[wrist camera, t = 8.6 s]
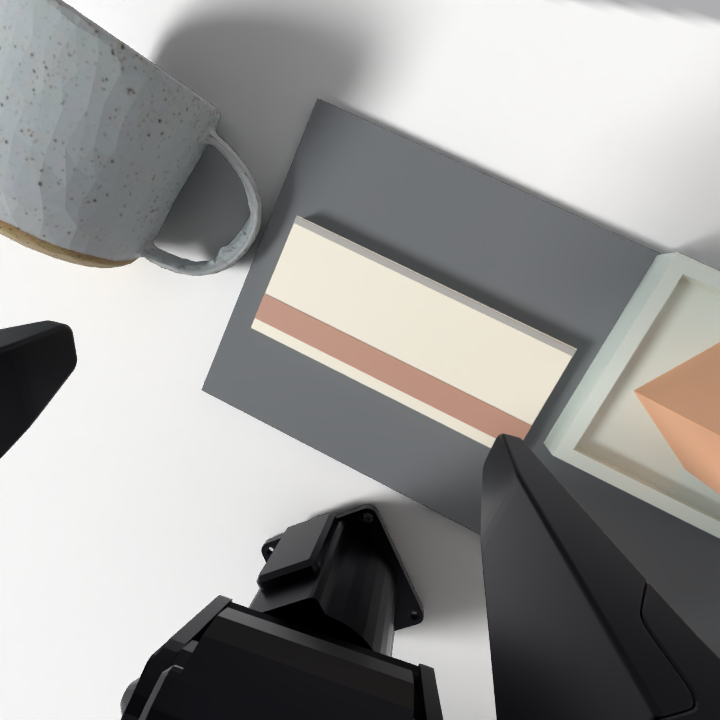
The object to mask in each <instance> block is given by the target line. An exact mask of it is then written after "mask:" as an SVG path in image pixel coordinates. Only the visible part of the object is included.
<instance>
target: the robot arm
mask: <svg viewBox="0 0 720 720" xmlns="http://www.w3.org/2000/svg"><path fill="white" fill-rule="evenodd" d="M76 363H77V355H76V349H75V343H74V337H73V332H72V329H71V328H70V327H69V326H68V325H66V324H62V323H58V322H54V321H41V322H36V323H31V324H25V325H20V326H15V327H10V328H5V329H0V459H1V457H2V456H3V455H4V454H5V453H6V452H7V451H8V450H9V449H10V448H11V447H12V446H13V445H14V444H15V443H16V442H17V441H18V439H19V438H20V437H21V436H22V435H23V434H24V433H25V432H26V431H27V430H28V429H29V427H30V426H31V425H32V424H33V423H34V421H35V420H36V419H37V418H38V416H39V415H40V414H41V412H42V411H43V410H44V409H45V407H46V406H47V405H48V403H49V402H50V401H51V399H52V398H53V397H54V395H55V394H56V393H57V392H58V390H59V389H60V388H61V386H62V385H63V384H64V382H65V381H66V380H67V378H68V377H69V376H70V375H71V373H72V372H73V370H74V369H75V367H76ZM365 513H370V514H371V515H372V516H373V517H372V518H369V519H368V518H366V517H365V516H364V514H365ZM269 547H272V548H274V551H271V550H270V549H269ZM481 552H482V563H483V574H484V585H485V596H486V607H487V618H488V629H489V640H490V651H491V662H492V673H493V684H494V695H495V706H496V717H497V720H720V658H719V657H718V656H717V655H716V654H715V653H714V652H713V651H712V650H711V649H710V648H709V647H708V646H707V645H706V644H705V643H704V641H703V640H702V639H701V638H700V637H699V636H698V635H697V634H696V633H695V632H694V631H693V630H692V629H691V628H690V627H689V626H688V625H687V623H686V622H685V621H684V620H683V619H682V618H681V617H680V616H679V615H678V614H677V613H676V611H675V610H674V609H673V608H672V607H671V606H670V605H669V604H668V603H667V602H666V600H665V599H664V598H663V597H662V596H661V595H660V594H659V593H658V591H657V590H656V589H655V588H654V587H653V586H652V585H651V584H650V583H646V578H645V577H644V576H643V575H642V574H641V573H640V571H639V570H638V569H637V568H636V567H635V566H634V565H633V564H632V562H631V561H630V560H629V559H628V558H627V557H626V556H625V555H624V553H623V552H622V551H621V550H620V549H619V548H618V547H617V546H616V544H615V543H614V542H613V541H612V540H611V539H610V538H609V537H608V535H607V534H606V533H605V532H604V531H603V530H602V529H601V528H600V526H599V525H598V524H597V523H596V522H595V521H594V520H593V519H592V517H591V516H590V515H589V514H588V513H587V512H586V511H585V510H584V508H583V507H582V506H581V505H580V504H579V503H578V502H577V501H576V499H575V498H574V497H573V496H572V495H571V494H570V493H569V492H568V490H567V489H566V488H565V487H564V486H563V485H562V484H561V483H560V481H559V480H558V479H557V478H556V477H555V476H554V475H553V474H552V472H551V471H550V470H549V469H548V468H547V467H546V466H545V465H544V463H543V462H542V461H541V460H540V459H539V458H538V457H537V456H536V454H535V453H534V452H533V451H532V450H531V449H530V448H529V447H528V445H527V444H526V443H525V442H524V441H523V440H522V439H521V438H519V437H517V436H513V435H508V434H504V433H501V434H499V435H498V436H497V438H496V439H495V441H494V443H493V445H492V448H491V450H490V452H489V454H488V456H487V458H486V460H485V462H484V466H483V471H482V503H481ZM262 555H263V557H264V559H265V561H266V564H265V566H264V567H263V569H262V571H261V572H260V574H259V577H258V579H257V584H258V586H259V588H260V589H259V591H258V592H257V594H256V596H255V598H254V599H253V601H252V603H251V604H250V606H249V608H247V607H244V606H241V605H238V604H236V603H233V602H232V599H230V598H227V597H224V596H221V595H219V596H218V597H216V598H215V599H214V600H213V601H212V602H211V603H210V604H209V605H207V606H206V607H205V608H204V609H203V610H202V611H201V612H199V613H198V614H197V615H196V616H195V617H194V618H193V619H192V620H190V621H189V622H188V623H187V624H186V625H185V626H184V627H183V628H181V629H180V630H179V631H178V632H177V633H176V634H175V635H174V636H172V637H171V638H170V639H169V640H168V641H167V642H166V643H165V644H164V645H163V646H162V647H160V648H159V649H158V650H157V651H156V652H155V653H154V654H153V655H152V656H151V657H150V658H149V660H148V662H147V663H146V665H145V668H144V670H143V672H142V674H141V676H140V678H138V679H137V680H135V681H133V682H132V683H131V684H130V685H129V686H128V688H127V689H126V691H125V693H124V695H123V697H122V700H121V712H122V718H121V720H443V716H442V711H441V706H440V700H439V695H438V689H437V684H436V679H435V673H434V669H433V668H432V667H429V666H426V665H423V664H419V666H416V665H413V664H410V663H407V662H404V661H402V660H399V659H396V658H393V657H392V648H393V640H394V631H395V630H399V629H402V628H406V627H409V626H413V625H416V624H419V623H421V622H422V620H423V617H424V609H423V606H422V604H421V602H420V600H419V597H418V595H417V593H416V591H415V589H414V587H413V585H412V582H411V580H410V578H409V576H408V574H407V572H406V570H405V567H404V565H403V563H402V561H401V559H400V557H399V554H398V552H397V550H396V548H395V546H394V544H393V542H392V539H391V537H390V535H389V533H388V531H387V529H386V527H385V524H384V522H383V520H382V518H381V516H380V514H379V512H378V510H377V508H376V507H374V506H373V505H370V504H367V505H363V506H360V507H357V508H354V509H352V510H349V511H346V512H343V513H340V514H338V515H335V514H332V513H327V514H324V515H321V516H319V517H316V518H313V519H310V520H308V521H305V522H302V523H299V524H296V525H294V526H291V527H288V528H287V529H286V531H285V533H284V534H281V535H279V536H276V537H273V538H270V539H268V540H267V541H266V542H265V544H264V545H263V547H262ZM410 611H415V612H417V614H411V613H410Z"/></svg>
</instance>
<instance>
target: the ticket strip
mask: <svg viewBox="0 0 720 720" xmlns="http://www.w3.org/2000/svg"><path fill="white" fill-rule="evenodd" d="M251 328H252V329H254V330H256V331H258V332H260V333H262V334H264V335H266V336H268V337H270V338H272V339H274V340H276V341H278V342H280V343H282V344H284V345H286V346H288V347H290V348H292V349H294V350H296V351H298V352H300V353H302V354H304V355H306V356H308V357H310V358H312V359H314V360H316V361H318V362H320V363H322V364H324V365H326V366H328V367H330V368H332V369H334V370H336V371H338V372H340V373H342V374H344V375H346V376H348V377H350V378H352V379H354V380H356V381H358V382H360V383H362V384H364V385H366V386H368V387H370V388H372V389H374V390H376V391H378V392H380V393H382V394H384V395H386V396H388V397H390V398H392V399H394V400H396V401H398V402H400V403H402V404H404V405H406V406H408V407H410V408H412V409H414V410H416V411H418V412H420V413H422V414H424V415H426V416H428V417H430V418H432V419H434V420H436V421H438V422H440V423H442V424H444V425H445V426H447V427H449V428H451V429H453V430H455V431H457V432H459V433H461V434H463V435H465V436H467V437H469V438H471V439H473V440H475V441H477V442H479V443H481V444H483V445H485V446H487V447H489V448H492V445H493V443H494V441H495V439H496V438H497V436H498V435H499V434H501V433H504V434H508V435H513V436H517V437H519V438H521V439H522V440H524V438H525V436H526V435H527V433H528V431H529V430H530V428H531V426H532V424H533V422H534V421H535V419H536V417H537V416H538V414H539V412H540V410H541V409H542V407H543V405H544V404H545V402H546V400H547V399H548V397H549V395H550V394H551V392H552V390H553V389H554V387H555V385H556V384H557V382H558V380H559V378H560V377H561V375H562V373H563V372H564V370H565V368H566V367H567V365H568V363H569V362H570V360H571V358H572V357H573V355H574V354H575V352H576V350H577V349H576V348H574V347H572V346H570V345H568V344H566V343H563V342H561V341H559V340H557V339H555V338H553V337H551V336H549V335H547V334H545V333H542V332H540V331H538V330H536V329H534V328H532V327H530V326H528V325H526V324H524V323H522V322H519V321H517V320H515V319H513V318H511V317H509V316H507V315H505V314H503V313H501V312H498V311H496V310H494V309H492V308H490V307H488V306H486V305H484V304H482V303H480V302H478V301H475V300H473V299H471V298H469V297H467V296H465V295H463V294H461V293H459V292H457V291H455V290H452V289H450V288H448V287H446V286H444V285H442V284H440V283H438V282H436V281H434V280H431V279H429V278H427V277H425V276H423V275H421V274H419V273H417V272H415V271H413V270H411V269H408V268H406V267H404V266H402V265H400V264H398V263H396V262H394V261H392V260H390V259H387V258H385V257H383V256H381V255H379V254H377V253H375V252H373V251H371V250H369V249H367V248H364V247H362V246H360V245H358V244H356V243H354V242H352V241H350V240H348V239H346V238H343V237H341V236H339V235H337V234H335V233H333V232H331V231H329V230H327V229H325V228H323V227H320V226H318V225H316V224H314V223H312V222H310V221H308V220H306V219H304V218H302V217H299V216H296V218H295V221H294V224H293V227H292V229H291V231H290V234H289V236H288V239H287V241H286V244H285V246H284V248H283V251H282V253H281V256H280V258H279V261H278V263H277V265H276V268H275V270H274V273H273V275H272V278H271V280H270V282H269V285H268V287H267V290H266V292H265V294H264V296H263V299H262V301H261V303H260V306H259V308H258V311H257V313H256V316H255V319H254V321H253V324H252V326H251Z"/></svg>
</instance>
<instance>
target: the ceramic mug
mask: <svg viewBox="0 0 720 720" xmlns="http://www.w3.org/2000/svg"><path fill="white" fill-rule="evenodd" d="M220 117H221V114H220V112H219V110H218V109H216V108H215V107H214V106H213V105H212V104H210V103H209V102H207V101H206V100H205V99H203V98H202V97H201V96H199V95H198V94H196V93H195V92H194V91H192V90H191V89H190V88H188V87H187V86H186V85H184V84H183V83H181V82H180V81H178V80H176V79H175V78H173V77H172V76H171V75H169V74H168V73H166V72H165V71H164V70H163V69H161V68H160V67H158V66H157V65H155V64H154V63H152V62H151V61H149V60H148V59H146V58H145V57H143V56H142V55H140V54H139V53H138V52H136V51H135V50H133V49H132V48H130V47H129V46H128V45H126V44H125V43H123V42H122V41H120V40H119V39H117V38H116V37H114V36H113V35H111V34H110V33H108V32H107V31H106V30H104V29H103V28H101V27H100V26H98V25H97V24H96V23H94V22H93V21H91V20H89V19H88V18H86V17H85V16H83V15H82V14H81V13H79V12H78V11H77V10H75V9H74V8H73V7H71V6H70V5H68V4H66V3H65V2H63V1H62V0H0V234H2V235H4V236H6V237H8V238H10V239H11V240H13V241H15V242H17V243H19V244H21V245H23V246H25V247H28V248H30V249H33V250H36V251H38V252H41V253H44V254H46V255H49V256H51V257H54V258H57V259H60V260H64V261H67V262H70V263H74V264H79V265H83V266H88V267H98V268H113V267H119V266H124V265H127V264H131V263H132V262H133V261H135V260H136V259H138V258H139V257H145V258H146V259H148V260H149V261H150V262H152V263H154V264H156V265H158V266H160V267H161V268H164V269H168V270H170V271H173V272H175V273H180V274H186V275H192V276H202V275H208V274H214V273H218V272H220V271H223V270H225V269H227V268H229V267H231V266H233V265H234V264H235V263H236V262H238V261H239V259H240V258H241V257H242V256H243V255H244V254H245V253H246V252H247V251H248V249H249V248H250V247H251V245H252V244H253V242H254V241H255V238H256V236H257V234H258V232H259V229H260V225H261V217H262V202H261V198H260V194H259V191H258V188H257V185H256V183H255V180H254V178H253V176H252V174H251V173H250V171H249V169H248V168H247V166H246V165H245V164H244V162H243V161H242V160H241V159H240V157H239V156H238V155H237V154H236V153H235V152H234V151H233V150H232V148H231V147H230V146H229V145H228V144H227V143H226V142H225V141H224V140H222V139H221V138H220V137H219V136H218V134H217V133H216V128H217V125H218V123H219V120H220ZM209 144H211V145H213V146H214V147H215V148H216V149H217V150H218V151H219V152H220V153H221V154H223V156H224V157H225V159H226V160H227V161H228V162H229V163H230V165H231V166H232V168H233V169H234V170H235V172H236V173H237V174H238V176H239V177H240V179H241V181H242V183H243V185H244V188H245V192H246V195H247V198H248V205H249V208H250V212H251V214H250V216H249V218H248V220H247V221H246V223H245V224H244V226H243V227H242V229H241V230H240V232H239V233H238V234H237V236H236V237H235V238H234V239H233V240H232V241H231V242H230V243H229V244H228V245H227V246H224V247H221V248H220V250H219V252H218V255H217V257H215V258H213V259H212V260H210V261H199V262H195V261H190V260H188V259H183V258H180V257H177V256H175V255H172V254H170V253H167V252H165V251H163V250H161V249H160V248H158V247H156V246H155V245H154V243H153V241H154V239H155V237H156V236H157V234H158V232H159V230H160V229H161V227H162V225H163V224H164V221H165V218H166V216H167V215H168V213H169V211H170V210H171V206H172V204H173V203H174V201H175V199H176V197H177V196H178V194H179V192H180V191H181V189H182V188H183V186H184V184H185V182H186V181H187V179H188V177H189V176H190V174H191V173H192V171H193V169H194V167H195V165H196V164H197V162H198V161H199V160H200V157H201V156H202V153H203V151H204V150H205V148H207V145H209Z"/></svg>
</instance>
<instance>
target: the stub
mask: <svg viewBox="0 0 720 720" xmlns="http://www.w3.org/2000/svg"><path fill="white" fill-rule="evenodd" d="M634 392H635V394H636V396H637V397H638V399H639V400H640V402H641V403H642V405H643V406H644V408H645V409H646V411H647V412H648V414H649V415H650V417H651V418H652V420H653V421H654V423H655V424H656V426H657V427H658V429H659V430H660V432H661V433H662V435H663V436H664V438H665V439H666V441H667V443H668V444H669V446H670V447H671V449H672V450H673V452H674V453H675V455H676V456H677V458H678V459H679V461H680V462H681V464H682V465H683V467H684V468H685V470H687V471H688V472H689V473H691V474H692V475H693V476H695V477H696V478H698V479H699V480H700V481H702V482H703V483H705V484H706V485H707V486H709V487H710V488H711V489H713V490H714V491H716V492H717V493H718V494H720V342H719V343H717V344H716V345H714V346H712V347H710V348H709V349H707V350H705V351H703V352H701V353H700V354H698V355H696V356H694V357H692V358H691V359H689V360H687V361H685V362H684V363H682V364H680V365H678V366H676V367H675V368H673V369H671V370H669V371H668V372H666V373H664V374H662V375H660V376H659V377H657V378H655V379H653V380H651V381H650V382H648V383H646V384H644V385H643V386H641V387H639V388H637V389H635V390H634Z"/></svg>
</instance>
